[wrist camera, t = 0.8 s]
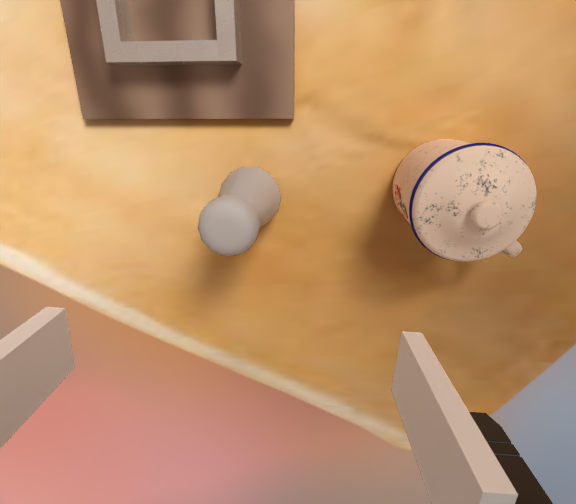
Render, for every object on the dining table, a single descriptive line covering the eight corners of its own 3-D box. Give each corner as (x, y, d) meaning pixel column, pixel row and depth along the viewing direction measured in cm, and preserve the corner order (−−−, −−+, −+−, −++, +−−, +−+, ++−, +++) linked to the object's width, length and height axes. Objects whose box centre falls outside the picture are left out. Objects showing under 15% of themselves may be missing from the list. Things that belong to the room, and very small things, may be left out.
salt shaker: (227, 218, 39) (186, 267, 26) (224, 162, 36) (178, 188, 24) (283, 220, 38) (267, 271, 26) (283, 163, 36) (266, 190, 24)
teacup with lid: (369, 188, 36) (391, 222, 26) (441, 113, 33) (500, 115, 23) (452, 264, 39) (505, 324, 28) (526, 199, 36) (618, 238, 25)
